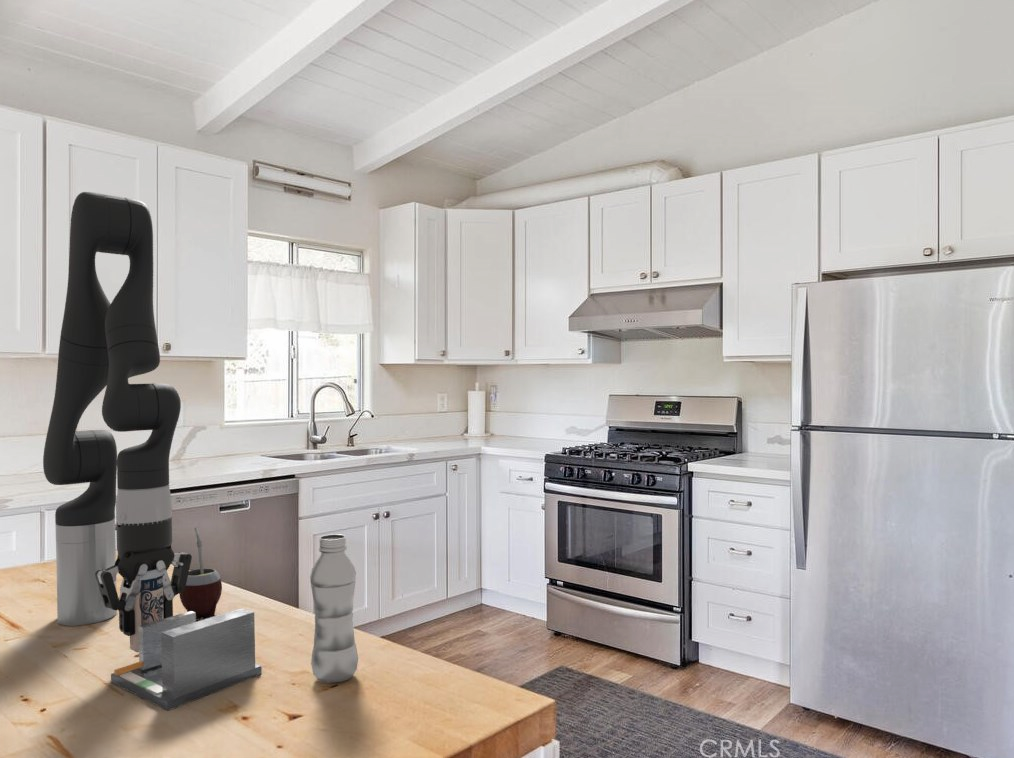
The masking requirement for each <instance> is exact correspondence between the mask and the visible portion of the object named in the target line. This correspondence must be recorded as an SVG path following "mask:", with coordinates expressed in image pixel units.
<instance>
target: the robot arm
mask: <svg viewBox="0 0 1014 758" xmlns="http://www.w3.org/2000/svg"><path fill="white" fill-rule="evenodd" d="M152 220H153V219H152V215H151V212H150V210H149V207H148V206H147V204H146V203H145V202H143V201H141V200H138V199H134V198H129V197H123V196H117V195H111V194H104V193H99V192H91V191H82V192H80V193H78V195H76V197H75V199H74V202H73V205H72V209H71V216H70V228H69V229H70V230H69V251H68V274H67V275H68V277H67V287H66V288H67V289H66V294H65V295H66V297H65V304H64V311H63V318H62V322H61V323H62V324H61V330H60V335H59V346H58V354H57V356H58V358H57V371H56V379H55V390H54V398H53V404H52V409H51V414H50V418H49V424H48V427H47V433H46V437H45V442H44V448H43V456H42V457H43V459H42V466H43V468H42V469H43V474H44V476H45V479H46V480H47V482H48V483H49V484H51V485H54V486H67V485H76V484H78V485H79V484H85V483H89V485H88V488H87V489H86V490H85V491H84V492H83V493H82V494H80V495H79V496H77V497H75V498H74V499H72V500H69V501H67V502H65V503H63V504H60V505H59V506H58V507H57V508H56V510H55V514H54V519H55V520H54V521H55V556H56V559H55V561H56V564H55V565H56V596H57V597H56V604H57V605H56V606H57V607H56V610H57V612H56V613H57V615H56V616H57V623H58V624H60V625H61V626H83V625H91V624H95V623H99V622H102V621H106V620H109V619H111V618H113V617H115V616H116V615H117V613H118V622H119V623H118V624H119V626H118V628H119V631H120V632H122V633H123V635H125V636H127V637H130V636H131V635H134V634H135V614H134V610H132V608H133V605H134V602H135V599H136V596H137V595H138V594H139V592H140V588H141V580H140V579H141V578H142V577H143V576H144V575H146V572H147V571H149V570H154V569H157V570H158V572H162V574H163V611H164V619H165V618H168V617H172V616H174V606H173V605H174V603H173V602H174V601H173V600H174V598H175V597H176V596H177V595H179V593H183V592H184V591H185V587H186V583H187V578H188V573H189V571H190V567H191V563H192V558H193V557H192V554H190V553H187V552H183V551H179V552H174V551H173V547H172V544H173V514H172V513H173V512H172V511H173V508H172V507H173V506H172V505H173V504H172V496H171V490H170V453H171V448H172V443H173V438H174V435H175V431H176V427H177V425H178V422H179V418H180V413H181V407H182V402H181V397H180V396H179V393H178V390H176V389H175V387H174V386H172V385H171V384H168V383H165V382H164V383H160V382H157V383H155V382H154V383H129V379H130V378H132V377H137V376H141V375H145V374H147V373H151V372H153V371H155V370H156V369H157V368H158V367H159V366H160V364H161V355H160V354H161V353H160V348H159V342H158V341H159V340H158V334H157V327H156V321H155V314H154V313H155V312H154V311H155V310H154V230H153V221H152ZM97 253H102V254H112V255H121V256H127V257H128V259H129V270H128V274H127V276H126V279H125V280H124V282H123V284H122V285H121V286H120V288H119V291H118V292H117V293H116V295H115V296H114V297H113V299H112V302H110V300H109V299H108V298H107V295H106V294H105V291H104V289H103V287H102V285H101V282H100V280H99V277H98V274H97V268H96V256H97V255H96V254H97ZM104 389H105V392H104V396H103V400H102V405H101V406H102V407H101V416H102V419H103V421H104V423H105V424H106V426H107V427H108V428H110V430H112V431H114V432H123V433H124V432H126V433H127V432H137V431H151V432H150V435H149V437H148V439H147V440H146V441H144V442H142V443H140V444H138V445H134V446H130V447H127V448H123V449H122V450H120V451H119V452H118V449H117V447H118V446H117V443H116V439H115V437H114V435H113V434H112V432H110V431H109V430H106V429H92V430H91V429H90V430H77V428H78V425H79V423H80V420H81V418H82V415H84V413H85V411H86V409H87V408H88V407H89V406H90V405H91V403H92V402H93V401H94V400H95V399H96V398H97V397H98V395H99V394H100V393H101V392H103V390H104ZM116 551H117V552H116ZM171 564H172V566H173V568H172V569H173V570H172V575H171V579H170V576H169V573H168V570H169V568H170V567H171ZM118 574H119V575H120V576H121V577H122V581H121V584H120V587H119V594H118V591H117V589H118V587H117V575H118ZM138 580H139V581H138ZM129 584H131V585H132V586H131V588H129Z"/></svg>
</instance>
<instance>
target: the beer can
mask: <svg viewBox="0 0 1014 758" xmlns="http://www.w3.org/2000/svg"><path fill="white" fill-rule="evenodd" d="M140 580H141V588H140V592H139V594H138V595H137V596H136V599H135V602H134V605H133V608H132V610H134V614H135V634H134V635H131V636H129V649H130V650H131V651H133V652H134V653H135V652H136V653H139V630H138V626H140V625H144V624H147V623H151V622H154V621H158V620H161V619H164V611H163V574H162V572H158V570H157V569H154V570H149V571H147V572H146V575H144V576H143V577H142V578H141V579H140ZM138 581H139V580H138ZM131 586H132V585H131V584H129V588H131Z"/></svg>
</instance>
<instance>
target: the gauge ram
mask: <svg viewBox="0 0 1014 758" xmlns="http://www.w3.org/2000/svg"><path fill="white" fill-rule="evenodd" d="M194 622H197V620H196V612H193V611H189V612H187V611H186V612H183V613H180V614H175V615H173V616H172V617H168V618H165V619H161V620H158V621H154V622H151V623H147V624H144V625H140V626H138V630H139V652H138V662H134V663H131V664H128V665H125V666H123V667H119V668H117V669H114V670H113V671H114V672H113V673H114V674H115V675H119V674H122V673H125V672H128V671H131V670H134V669H137V668H140V669H142V670H145V669H148V668H151V667H154V666H157V665H160V664H162V643H161V632H164V631H167V630H171V629H174V628H177V627H181V626H184V625H187V624H191V623H194Z"/></svg>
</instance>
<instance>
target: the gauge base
mask: <svg viewBox="0 0 1014 758" xmlns="http://www.w3.org/2000/svg"><path fill="white" fill-rule="evenodd" d="M255 625H256V623H255V611H252V610H250V609H249V610H248V609H246V608H243V607H241V608H238V609H235V610H232V611H228V612H224V613H222V614H218V615H216V616H214V617H211V618H208V619H205V618H203V619H201V620H199V621H197V620H196V622H194V623H191V624H187V625H184V626H181V627H177V628H174V629H171V630H167V631H164V632H161V643H162V664H160V665H157V666H154V667H151V668H148V669H145V670H142V669H140V668H137V669H134V670H131V671H128V672H125V673H122V674H119V675H115V674H114V672H113V673H111V674H110V683H112V684H113V685H115V686H117V687H120V688H121V689H123V690H125V691H127V692H129V693H131V694H133V695H135V696H136V697H139V698H141V699H143V700H145V701H147V702H148V703H150V704H154V706H155V705H156V706H157V707H159V708H161V709H163V710H166V711H167V712H168V711H170V710H173V709H176V708H178V707H180V706H183V705H185V704H187V703H190V702H193V701H195V700H199V699H201V698H204V697H206V696H208V695H211V694H214V693H217V692H219V691H222V690H223V689H227V688H230V687H232V686H234V685H237V684H239V683H242V682H244V681H247V680H250V679H252V678H256V677H257V676H261V675H262V671H263V670H262V665H261V664H258V663H256V641H255V640H256V639H255V638H256V635H255V634H256V633H255V631H256V630H255V629H256V628H255Z"/></svg>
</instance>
